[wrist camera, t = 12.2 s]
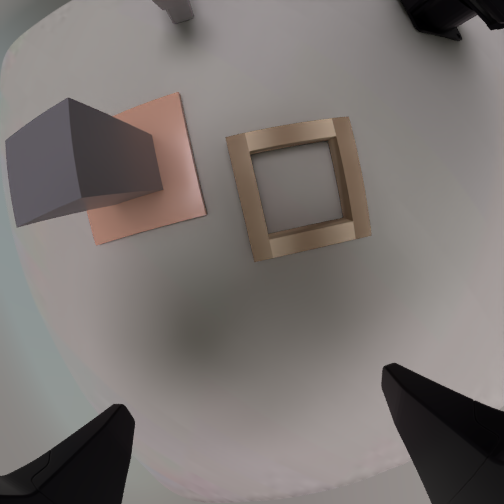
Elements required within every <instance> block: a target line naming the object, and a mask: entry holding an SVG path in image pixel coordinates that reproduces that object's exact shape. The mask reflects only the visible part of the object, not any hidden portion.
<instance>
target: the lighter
mask: <svg viewBox="0 0 504 504" xmlns="http://www.w3.org/2000/svg"><path fill="white" fill-rule="evenodd" d="M152 1H153V2H154V3H155V4H157V5H158V6H159V7H160V8H161V9H162V10H166V11H167V13H168V15H169V17H170V19H171V20H172V22H173V23H174V24H177V23H180V22H183V21H186V20H189V19H192V18H193V17H194V15H193V11H192V8H191V5H190V1H189V0H152Z"/></svg>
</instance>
